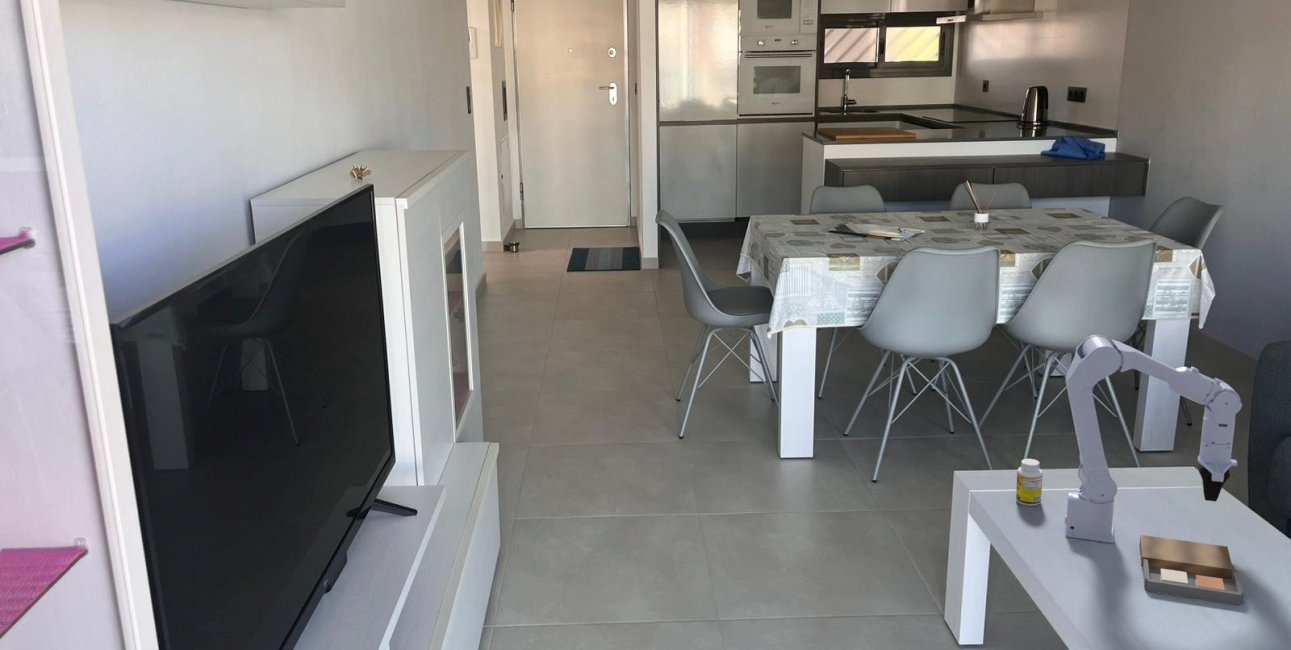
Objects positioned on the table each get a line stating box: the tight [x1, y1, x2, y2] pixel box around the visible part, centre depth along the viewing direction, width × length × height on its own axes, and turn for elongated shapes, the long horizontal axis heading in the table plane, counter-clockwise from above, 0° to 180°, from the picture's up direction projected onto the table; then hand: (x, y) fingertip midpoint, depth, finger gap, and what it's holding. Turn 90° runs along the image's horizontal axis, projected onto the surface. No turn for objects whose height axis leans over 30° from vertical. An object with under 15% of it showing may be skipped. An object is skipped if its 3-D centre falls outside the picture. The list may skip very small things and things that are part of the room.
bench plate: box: [1138, 534, 1234, 580], centre depth 198 cm, size 16×10×2 cm, turn 66°
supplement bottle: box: [1015, 458, 1043, 507], centre depth 228 cm, size 6×6×10 cm
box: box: [1142, 559, 1244, 606], centre depth 190 cm, size 17×9×2 cm, turn 66°
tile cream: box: [1160, 569, 1188, 585], centre depth 190 cm, size 4×4×2 cm
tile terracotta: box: [1195, 575, 1225, 590], centre depth 188 cm, size 4×4×2 cm
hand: (1210, 499), depth 205 cm, fingers closed
